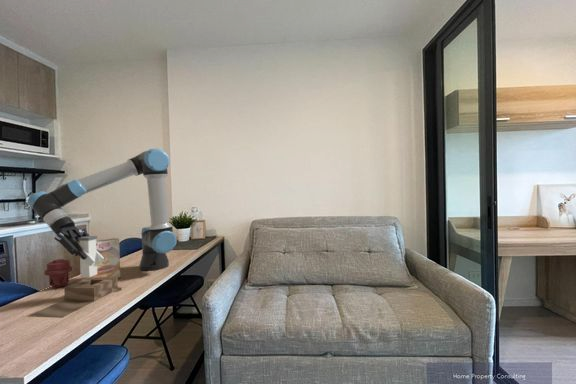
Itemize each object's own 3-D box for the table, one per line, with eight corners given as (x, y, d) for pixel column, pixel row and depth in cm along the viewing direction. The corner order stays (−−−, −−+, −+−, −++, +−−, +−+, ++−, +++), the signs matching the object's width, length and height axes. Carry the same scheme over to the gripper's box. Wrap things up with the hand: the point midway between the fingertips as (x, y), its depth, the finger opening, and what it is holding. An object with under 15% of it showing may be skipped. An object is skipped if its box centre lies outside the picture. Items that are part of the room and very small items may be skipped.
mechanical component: (78, 283, 139) (57, 290, 129) (61, 282, 141) (39, 289, 131) (77, 257, 138) (56, 263, 128) (59, 257, 140) (38, 262, 130)
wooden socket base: (92, 289, 130) (92, 275, 129) (121, 289, 128) (121, 276, 128) (26, 319, 101) (25, 302, 101) (62, 320, 99) (61, 303, 99)
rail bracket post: (88, 273, 122) (87, 236, 122) (98, 274, 122) (97, 236, 122) (79, 277, 118) (78, 238, 118) (89, 277, 117) (88, 238, 117)
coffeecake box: (89, 285, 135) (87, 243, 134) (81, 283, 138) (79, 242, 138) (121, 276, 148) (119, 238, 147) (113, 274, 151) (111, 237, 151)
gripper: (72, 225, 130) (106, 263, 128) (34, 231, 113) (73, 274, 111) (82, 213, 129) (117, 251, 127) (45, 218, 112) (85, 261, 110)
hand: (97, 262), depth 119 cm, fingers closed on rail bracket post, 4 cm apart
